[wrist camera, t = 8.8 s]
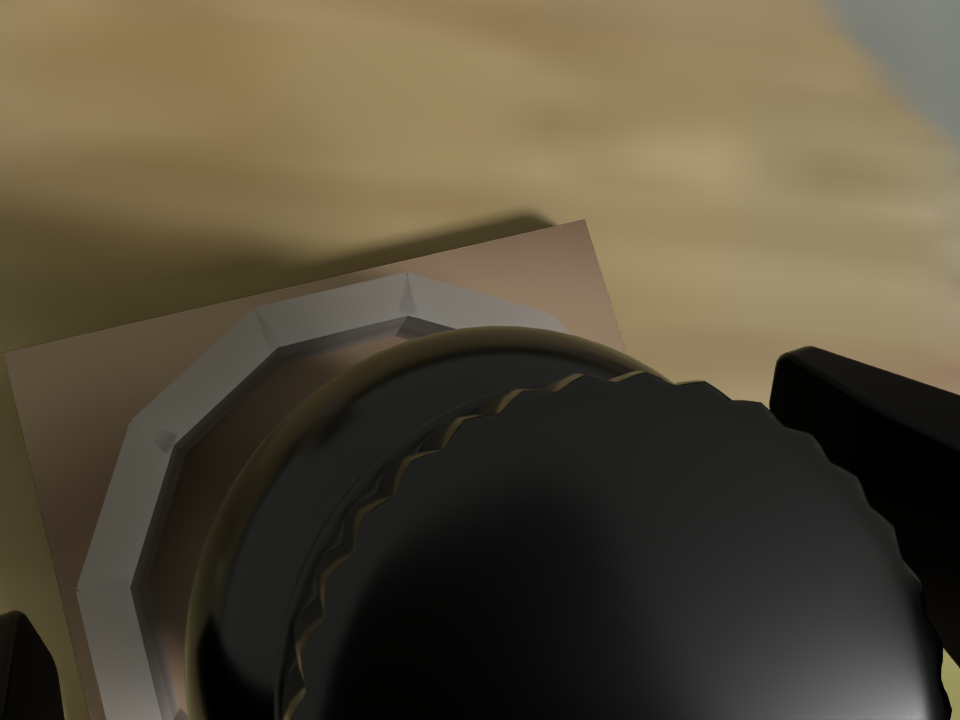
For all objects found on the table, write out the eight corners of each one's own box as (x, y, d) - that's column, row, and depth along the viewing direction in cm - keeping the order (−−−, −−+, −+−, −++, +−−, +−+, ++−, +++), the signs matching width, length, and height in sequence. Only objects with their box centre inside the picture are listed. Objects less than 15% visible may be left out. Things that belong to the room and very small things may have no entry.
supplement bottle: (186, 460, 17) (-28, 355, 5) (513, 361, 19) (889, 119, 7) (289, 817, 16) (302, 1579, 5) (618, 680, 18) (1221, 990, 6)
